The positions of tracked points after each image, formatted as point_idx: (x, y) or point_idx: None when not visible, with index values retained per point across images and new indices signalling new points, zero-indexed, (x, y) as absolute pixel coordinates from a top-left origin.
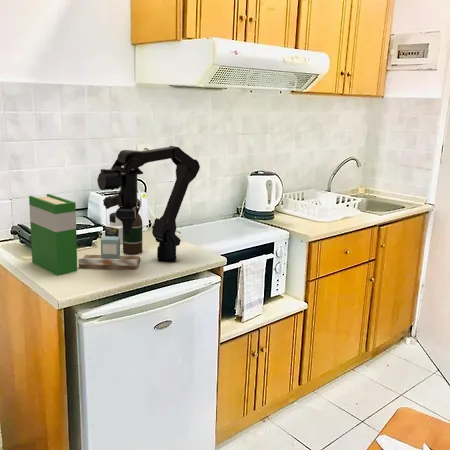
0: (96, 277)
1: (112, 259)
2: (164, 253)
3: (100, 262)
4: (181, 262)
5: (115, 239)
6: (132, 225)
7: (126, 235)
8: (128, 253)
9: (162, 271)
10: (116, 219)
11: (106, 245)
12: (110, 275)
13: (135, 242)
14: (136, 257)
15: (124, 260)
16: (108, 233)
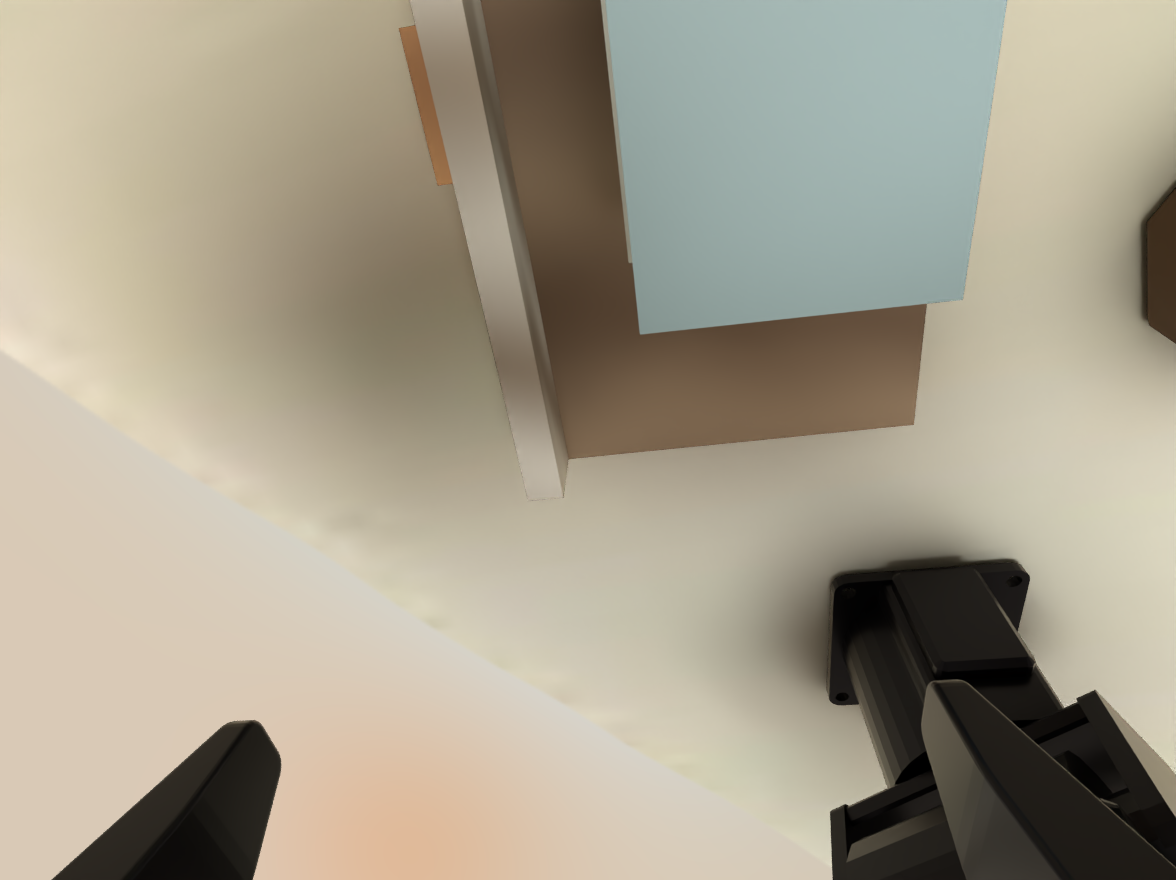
0: (121, 45)
1: (468, 187)
2: (869, 687)
3: None
4: (831, 724)
5: (698, 257)
6: (955, 830)
7: (238, 735)
8: (1169, 204)
9: (563, 635)
10: None
11: (605, 17)
12: (270, 208)
13: None
14: (857, 394)
15: (497, 360)
16: None
